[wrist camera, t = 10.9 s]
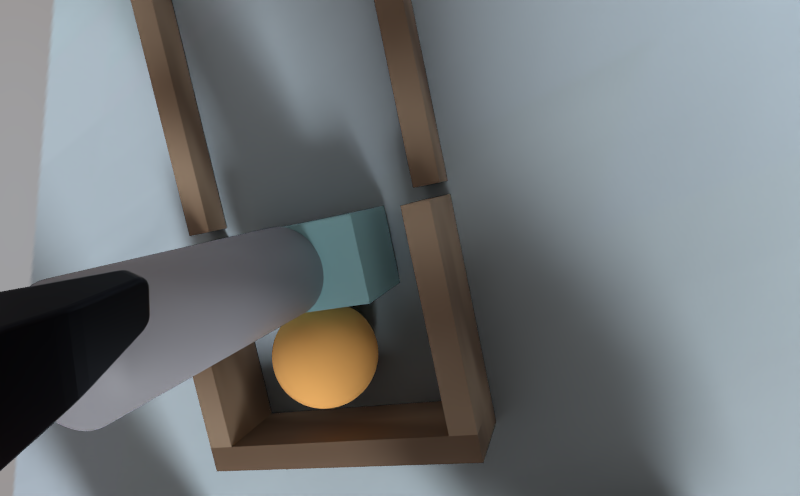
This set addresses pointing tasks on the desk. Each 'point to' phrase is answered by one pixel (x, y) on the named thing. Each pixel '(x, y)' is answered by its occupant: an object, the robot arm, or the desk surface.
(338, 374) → the ball
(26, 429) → the robot arm
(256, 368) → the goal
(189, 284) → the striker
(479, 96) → the desk surface
